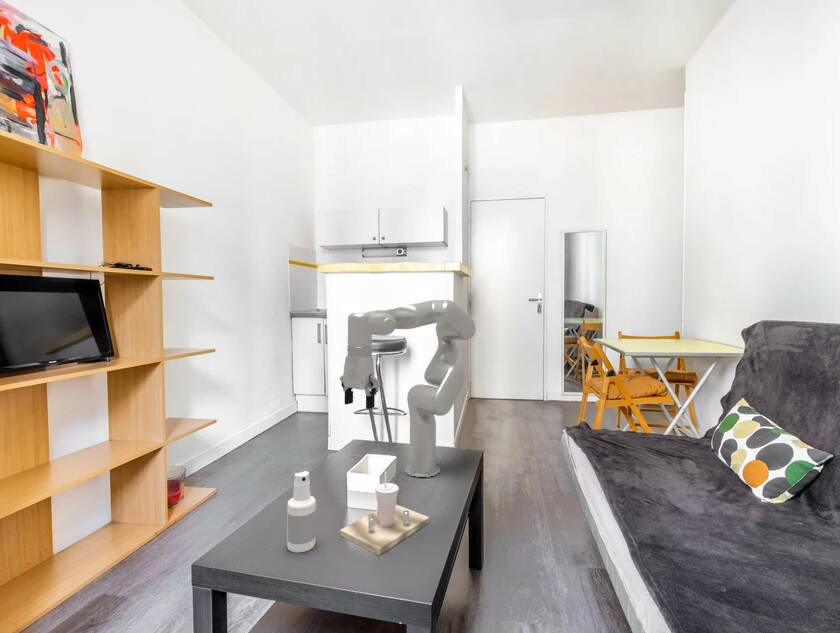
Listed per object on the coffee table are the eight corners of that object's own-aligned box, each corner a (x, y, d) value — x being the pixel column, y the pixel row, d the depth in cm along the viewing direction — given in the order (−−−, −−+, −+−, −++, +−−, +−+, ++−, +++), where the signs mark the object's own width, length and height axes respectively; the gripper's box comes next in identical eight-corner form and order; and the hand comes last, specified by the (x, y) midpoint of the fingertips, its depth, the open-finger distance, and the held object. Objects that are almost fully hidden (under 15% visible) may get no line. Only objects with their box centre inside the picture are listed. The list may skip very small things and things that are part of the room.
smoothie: (369, 523, 112) (370, 471, 112) (387, 515, 117) (388, 465, 117) (385, 532, 108) (386, 478, 108) (403, 523, 113) (404, 471, 112)
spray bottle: (291, 556, 100) (291, 481, 99) (284, 542, 105) (284, 471, 105) (319, 548, 103) (319, 475, 103) (310, 535, 109) (311, 466, 109)
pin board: (391, 507, 125) (391, 490, 125) (429, 522, 116) (429, 504, 116) (339, 535, 109) (340, 516, 109) (379, 555, 100) (379, 534, 100)
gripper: (332, 351, 135) (332, 404, 135) (370, 355, 124) (370, 412, 125) (349, 349, 141) (349, 400, 141) (387, 353, 130) (387, 407, 131)
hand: (359, 405), depth 133 cm, fingers open, 9 cm apart
